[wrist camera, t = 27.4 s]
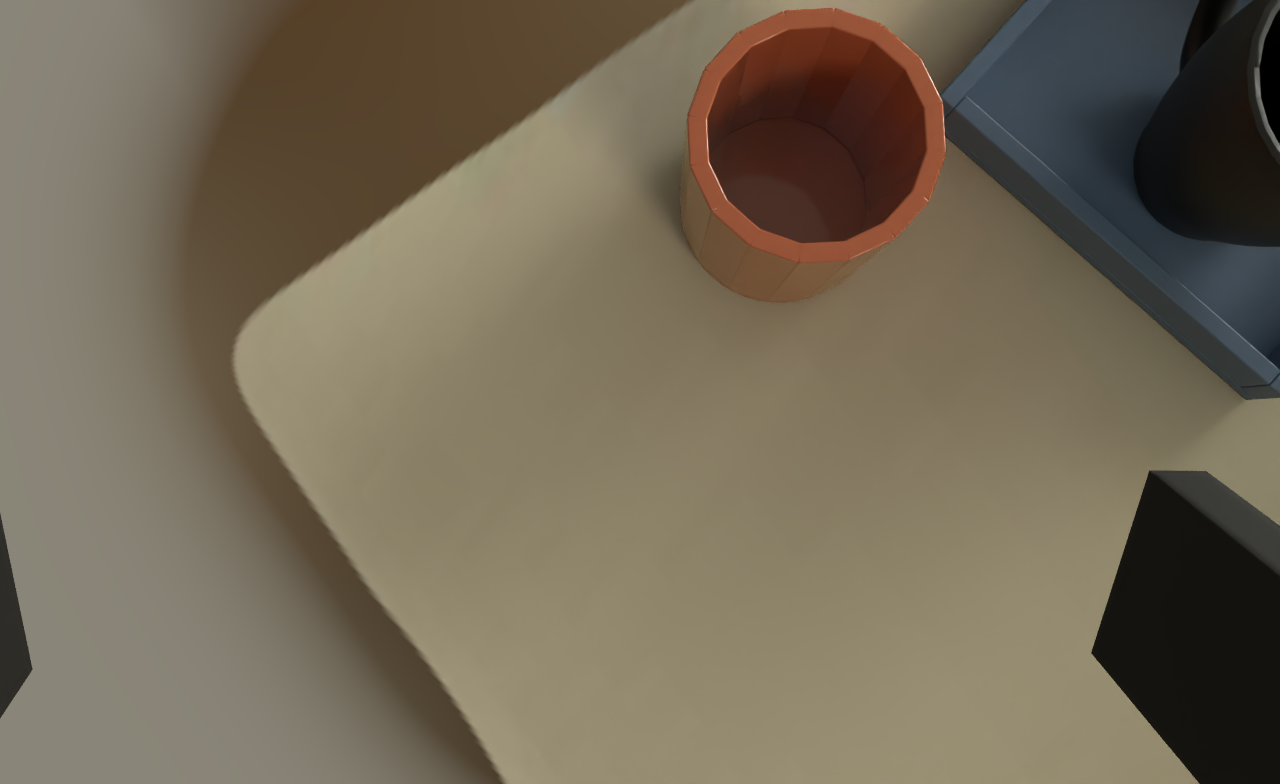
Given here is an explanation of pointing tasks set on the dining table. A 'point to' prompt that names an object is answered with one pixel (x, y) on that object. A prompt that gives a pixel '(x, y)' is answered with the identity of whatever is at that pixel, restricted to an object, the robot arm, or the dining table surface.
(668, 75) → the dining table surface
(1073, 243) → the tray
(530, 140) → the dining table surface
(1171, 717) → the robot arm
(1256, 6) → the mug
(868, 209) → the terracotta cup
